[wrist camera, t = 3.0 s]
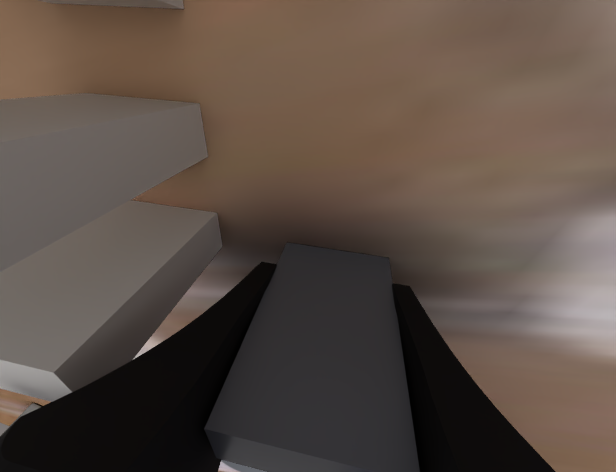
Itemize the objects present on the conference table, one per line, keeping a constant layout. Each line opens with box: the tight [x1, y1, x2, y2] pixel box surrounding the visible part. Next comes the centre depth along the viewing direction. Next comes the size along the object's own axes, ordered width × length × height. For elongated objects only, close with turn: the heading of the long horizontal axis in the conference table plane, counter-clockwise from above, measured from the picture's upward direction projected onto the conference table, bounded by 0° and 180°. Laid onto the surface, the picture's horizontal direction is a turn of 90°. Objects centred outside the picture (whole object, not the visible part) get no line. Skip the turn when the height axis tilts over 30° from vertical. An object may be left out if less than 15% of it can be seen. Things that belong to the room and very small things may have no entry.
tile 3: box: [0, 93, 208, 272], centre depth 6 cm, size 2×4×7 cm, turn 87°
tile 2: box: [0, 200, 223, 402], centre depth 9 cm, size 2×4×7 cm, turn 87°
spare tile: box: [204, 242, 420, 472], centre depth 8 cm, size 2×4×7 cm, turn 87°
